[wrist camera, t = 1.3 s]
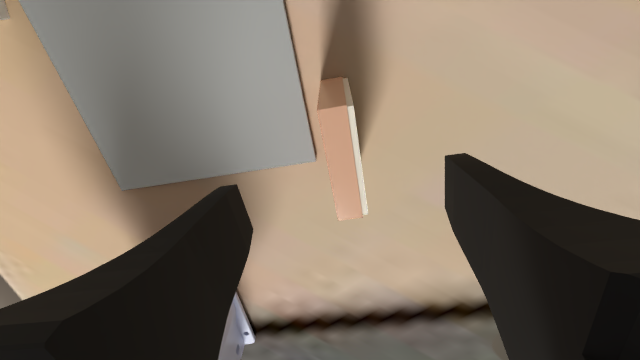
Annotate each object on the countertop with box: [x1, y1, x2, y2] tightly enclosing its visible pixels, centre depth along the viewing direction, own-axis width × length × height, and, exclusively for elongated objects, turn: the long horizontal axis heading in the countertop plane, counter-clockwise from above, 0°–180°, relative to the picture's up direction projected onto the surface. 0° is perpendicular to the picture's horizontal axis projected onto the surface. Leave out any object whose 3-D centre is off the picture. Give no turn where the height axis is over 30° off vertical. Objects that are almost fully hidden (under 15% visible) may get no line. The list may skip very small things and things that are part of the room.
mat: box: [19, 0, 316, 191], centre depth 19 cm, size 14×14×1 cm
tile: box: [317, 77, 368, 221], centre depth 18 cm, size 6×2×6 cm, turn 10°
